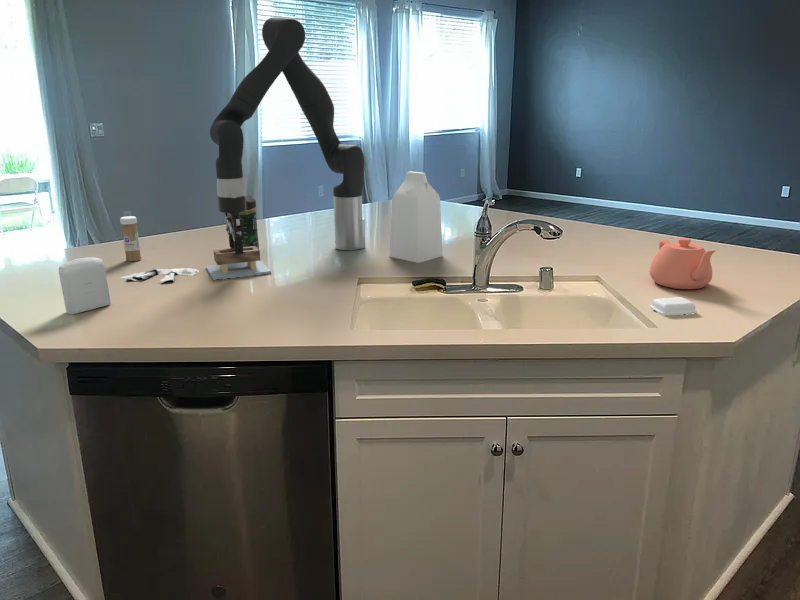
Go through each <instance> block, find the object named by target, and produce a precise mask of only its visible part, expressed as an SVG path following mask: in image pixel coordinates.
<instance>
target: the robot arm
mask: <svg viewBox="0 0 800 600" xmlns="http://www.w3.org/2000/svg"><path fill="white" fill-rule="evenodd" d="M261 36H262V40H263V43H264V45H265V46H266V48H267V50H268V51H267V53H266V55H265V56H264V57H263V58H262V60H261V61H260V62H259V63H258V64H257V65H256V66H255V67H254V68H253V69H252V70H250V72H248V74H247V75H246V76H244V78H243V79H242V80H241V81H240V83H239V85H238V86H237V87H236V90H235V91H234V93H233V94H232V96H231V98H230V100H229V101H228V103H227V104H226V105H225V106H224V107H223V109H221V110H220V112H219V114H217V116H216V117H215V119H214V120H213V122H212V123H211V126H210V128H209V136H210V139H211V140H212V142H213V143H214V144H215V145H218V157H217V158H216V159H215V169H216V171H215V172H216V193H217V202H218V211H219V212H220V213H223V214H224V215H225V227H226V228H225V230H226V232H227V236H228V242H229V243H228V244H229V249H230V248H235V254H236V255H239V254H243V243H242V241H243V240H244V232H243V220H242V218H240V216H239V213H240V212H243V211H245V210H246V209H247V208H246V196H247V195H246V186H245V185H246V184H245V181H244V173H243V171H244V170H243V163H242V161H243V153H244V133H243V130H242V125H244V123H245V122H246V121H247V120H250V119H251V118H252V117H253V116H254V114H255V112H256V111H257V109H258V107H259V106H260V104H261V103H262V101H263V99H264V98H265V97H266V94H267V92H268V91H269V90H270V88H271V87H272V86H273V84H274V82H275V81H276V80H277V79H278V77H279V76H280V75H281V73H282V74H283V75H284V77H285V79H286V82H287V84H288V85H289V87H290V89H291V91H292V93H293V95H294V96H295V99H296V100H297V103H298V105H299V107H300V109H301V111H302V112H303V115H304V116H305V118H306V120H307V121H308V124H309V125H310V127H311V129H312V132H313V134H314V136H315V138H316V140H317V142H318V144H319V147H320V150H321V152H322V155H323V157H324V160H325V162H326V164H327V166H328V168H329V169H330V171H332V172H334V173H335V174H340V175H342V181H341V183H340V184H338V185H337V184H336V185H334V187H333V188H332V189H333V190H332V193H333V197H332V198H333V217H334V220H333V221H334V246H335V247H334V248H335V249H337V250H340V251H356V250H360V249H365V248H366V225H365V224H366V219H365V218H363V217H364V216H363V189H364V185H365V155H364V151H363V149H362V148H361V147H360V146H358V145H356V144H345V143H344V144H343V143H342V142H341V141H340V139H339V138H338V135H337V134H336V131H335V127H334V122H335V121H334V120H335V106H334V103H333V100H332V98H331V96H330V93H329V92H328V90H327V88H326V86H325V85H324V83H323V82H322V81H321V79H320V78H319V77H318V76H317V75H316V74H315V72H314V71H313V70H311V68H310V67H309V66H308V65H307V63H306V62H305V61H304V59H303V58H302V57H301V55H300V53H299V51H300V50H301V49H302V48H303V46H304V44H305V41H306V31H305V28H304V25H303V24H302V22H300V20H297V19H296V18H292V17H285V16H284V17H282V16H279V17H278V16H274V17H270V18H267V19H266V20H265V21H264V23H263V25H262V29H261ZM237 234H240V236H237Z"/></svg>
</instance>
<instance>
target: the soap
mask: <svg viewBox="0 0 800 600" xmlns="http://www.w3.org/2000/svg"><path fill="white" fill-rule="evenodd" d="M649 309H650V310H651V311H655V312H656V314H658V315H660V316H662V315H663V316H662V317H667V316H666V315H680V316H683V315H682V314H692V313H696V314H698V313H697V310H696V305H695V303H694V302H692V301H690V300H689V299H687V298H684V297H682V296H681V297H680V296H679V297H675V296H674V297H662V298H654V299H652V300H651V304H650V305H649ZM692 315H693V314H692Z"/></svg>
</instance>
